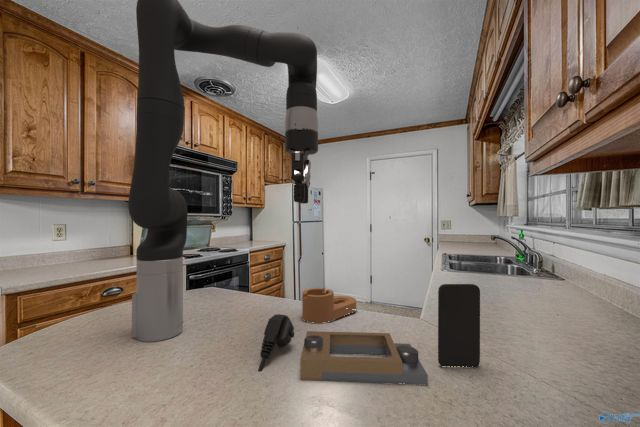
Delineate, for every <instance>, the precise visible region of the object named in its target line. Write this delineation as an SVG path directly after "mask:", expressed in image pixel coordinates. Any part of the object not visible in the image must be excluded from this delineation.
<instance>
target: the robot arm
mask: <svg viewBox="0 0 640 427" xmlns="http://www.w3.org/2000/svg"><path fill="white" fill-rule="evenodd" d="M135 8H136V9H135V10H136V13H135V14H136V16H135V17H136V30H137V31H136V32H137V41H138V42H137V43H138V73H137V74H138V78H137V79H138V81H137V82H138V83H137V85H138V86H137V88H138V89H137V98H136V131H135V133H136V134H135V144H134V145H135V149H134V161H133V170H132V176H131V183H130V188H129V193H128V200H127V201H128V202H127V205H128V206H127V207H128V213H129V216H130V218H131V220H132V222H134V224H136V226H138V227H140V228H142V229H147V233H146V236H145V238H144V239H143V241H142V242H141V243H140V244H138V246H137V248H136V257H135V258H136V291H135V292H134V293H133V294H132V295H131V339H136V340H138V341H140V342H143V343H144V342H147V343H150V342H151V343H152V342H153V343H154V342H158V341H159V342H160V341H165V340H169V339H171V338H174V337H176V336H178V335H181V333H182V332H183V330H184V248H185V246H186V243H187V239H188V238H187V236H188V235H187V234H188V205H187V201H186V199H185V197H184V196H183V194H182V193H181V192H180V191H178V190H177V189H173V188H170V184H169V183H170V177H169V176H170V167H171V160H172V157H173V156H174V154H175V151H176V150H177V148H178V146H179V143H180V141H181V139H182V137H183V133H184V128H185V127H184V126H185V97H184V93H183V89H182V84H181V81H180V80H181V79H180V77H179V72H178V69H177V64H176V59H175V58H176V56H175V51H178V52H189V53H191V52H192V53H201V54H207V55H208V54H209V55H214V56H215V55H217V56H222V57H228V58H231V59H236V60H240V61H243V62H247V63H250V64H255V65H257V66H258V65H259V66H261V67H266V68H271V67H273V66H274V65H275V64H276V63H279V64H286V67H287V76H288V78H287V80H288V81H287V82H288V83H287V84H288V86H287V90H286V96H285V99H286V100H285V101H286V102H285V103H286V104H285V105H286V106H285V109H286V111H285V118H284V119H285V120H284V150H285V153H286V154H289V155H291V177H290V178H291V181H292V184H293V201H294V203H299V204H308V203H309V188H310V185H311V181H310V180H311V177H312V176H311V169H312V161H311V160H310V159H309V157H308V156H310V155H315V154H317V153H318V152H319V118H318V94H317V78H318V76H317V75H318V49H317V45H316V44H315V42H314V41H313V39H311V38H310V37H309V36H307V35H305V34H302V33H299V32H291V31H290V32H289V31H288V32H287V31H285V32H281V31H280V32H279V31H277V32H270V31H267V30H263V29H259V28H256V27H253V26H249V25H244V24H230V25H224V26H219V27H218V26H214V27H213V26H210V25H206V24H204V23H200V22H199V21H196V20H194V19H192V18H190V16H189V15H188V13H187V11H186V10H185V8H184V7H183V6H182V4H181V3H180V1H179V0H137V1H136V7H135Z"/></svg>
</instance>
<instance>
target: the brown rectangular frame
mask: <svg viewBox="0 0 640 427" xmlns="http://www.w3.org/2000/svg"><path fill="white" fill-rule="evenodd" d="M394 343H395V342H394V340H393V338H392V336H391V334H390V333H389V332H358V331H357V332H355V331H320V330H319V331H317V330H315V331H313V330H312V331H311V330H306V334H305V337H304V340H303V347H302V351H301V354H300V362H299V363H300V365H299V367H300V369H299V371H300V374H299V378H300V381H311V382H312V381H315V382H316V381H317V382H318V381H319V382H323V381H322V372H340V373H372V374H402V360H401V358H400V356H399V353H398V351H397V349H396V347H395V344H394ZM330 344H332V345H370V346H385V349H386V352H387V354H388V357H389V358H385V357H378V356H377V357H374V356H373V357H370V356H368V357H367V356H342V355H341V356H339V355H338V356H337V355H331V354H330Z"/></svg>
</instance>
